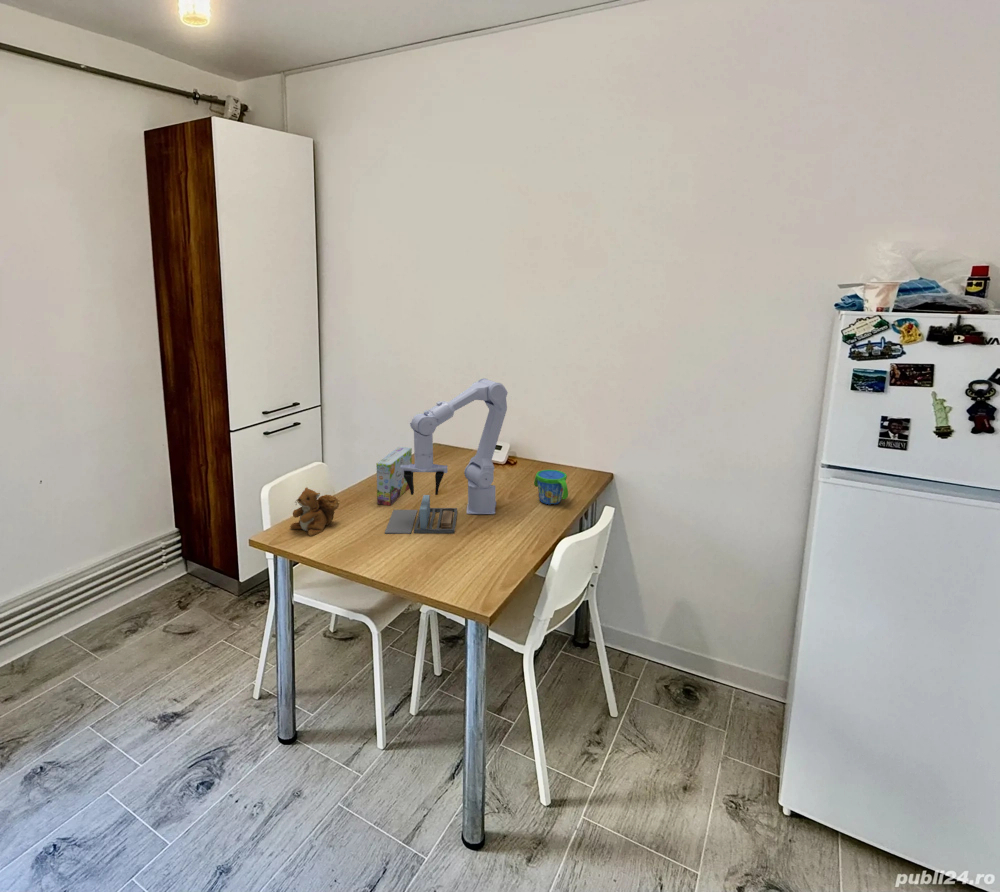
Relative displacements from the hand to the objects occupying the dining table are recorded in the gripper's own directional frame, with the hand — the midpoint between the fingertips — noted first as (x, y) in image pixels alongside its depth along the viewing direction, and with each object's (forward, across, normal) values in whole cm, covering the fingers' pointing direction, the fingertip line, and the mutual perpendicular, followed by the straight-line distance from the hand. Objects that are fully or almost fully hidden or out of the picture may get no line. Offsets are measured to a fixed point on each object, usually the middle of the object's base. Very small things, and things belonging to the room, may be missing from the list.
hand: (424, 493), depth 187 cm
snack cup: (+10, +42, +18) cm, 47 cm away
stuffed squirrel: (+10, -33, -4) cm, 35 cm away
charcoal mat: (+10, -8, 0) cm, 12 cm away
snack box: (+10, -13, +24) cm, 29 cm away
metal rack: (+10, +4, 0) cm, 10 cm away
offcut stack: (+10, +7, 0) cm, 12 cm away
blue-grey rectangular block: (+10, 0, 0) cm, 10 cm away
